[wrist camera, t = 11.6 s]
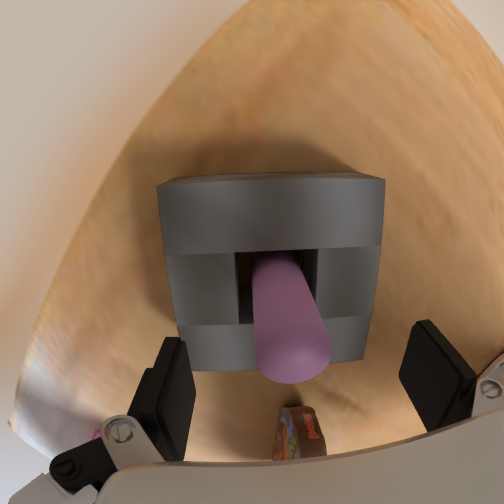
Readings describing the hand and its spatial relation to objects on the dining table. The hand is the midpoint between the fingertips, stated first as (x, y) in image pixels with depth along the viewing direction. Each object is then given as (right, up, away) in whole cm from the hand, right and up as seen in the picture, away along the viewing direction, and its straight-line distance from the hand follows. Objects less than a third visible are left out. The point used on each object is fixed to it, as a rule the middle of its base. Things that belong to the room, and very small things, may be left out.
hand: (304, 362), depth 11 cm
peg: (-1, +4, +9) cm, 10 cm away
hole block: (-1, +4, +9) cm, 10 cm away
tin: (+2, -15, +16) cm, 22 cm away
